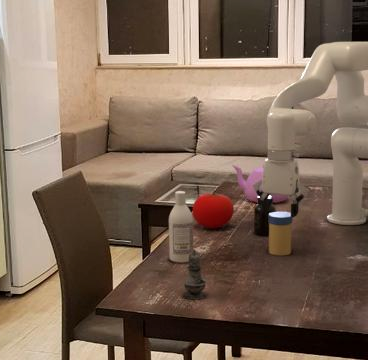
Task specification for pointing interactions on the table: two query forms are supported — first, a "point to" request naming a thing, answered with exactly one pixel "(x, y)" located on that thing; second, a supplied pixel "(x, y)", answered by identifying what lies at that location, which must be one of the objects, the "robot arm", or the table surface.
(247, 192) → the teapot
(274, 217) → the lid
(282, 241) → the jar
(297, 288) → the table surface
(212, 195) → the tomato
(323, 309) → the table surface
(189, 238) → the bath foam
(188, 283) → the dark grey figurine
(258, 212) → the supplement bottle
